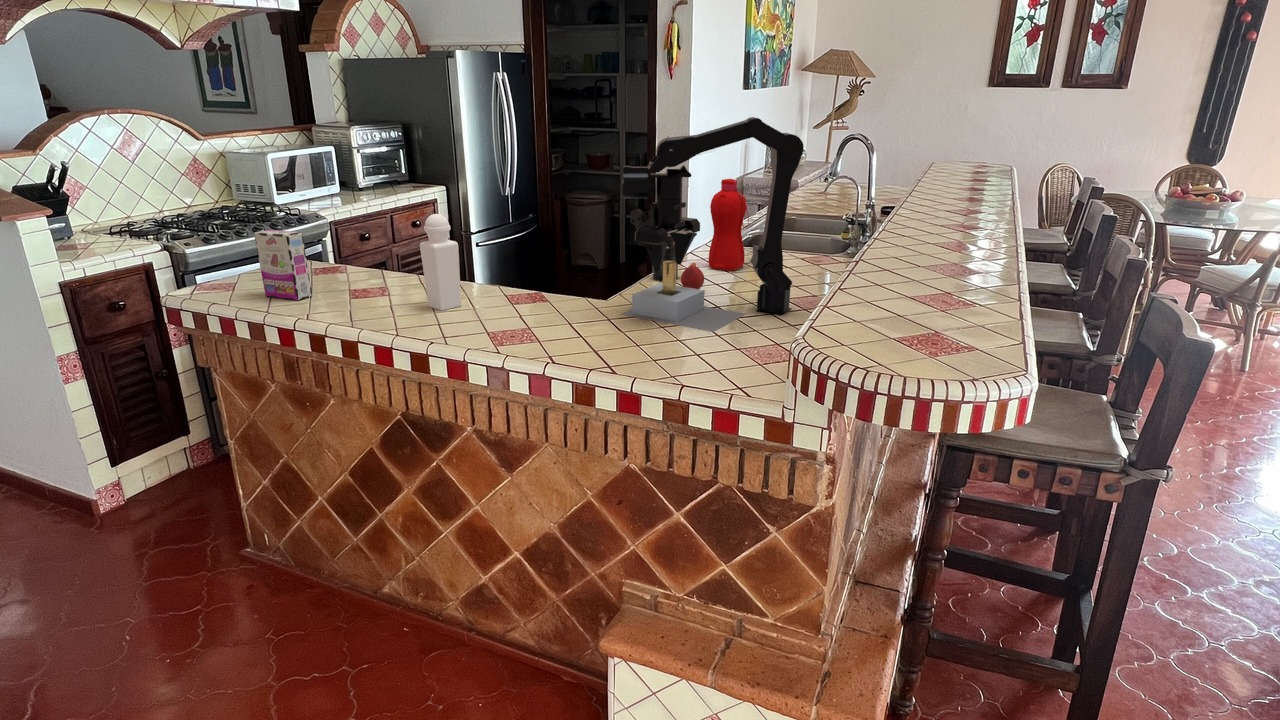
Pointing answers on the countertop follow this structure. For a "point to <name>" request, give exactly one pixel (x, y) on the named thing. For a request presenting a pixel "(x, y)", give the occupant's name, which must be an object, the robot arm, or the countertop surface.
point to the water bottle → (727, 227)
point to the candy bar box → (283, 264)
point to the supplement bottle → (667, 258)
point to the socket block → (668, 303)
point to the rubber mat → (699, 319)
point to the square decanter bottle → (440, 264)
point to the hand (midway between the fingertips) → (668, 268)
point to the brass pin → (669, 278)
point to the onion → (692, 277)
